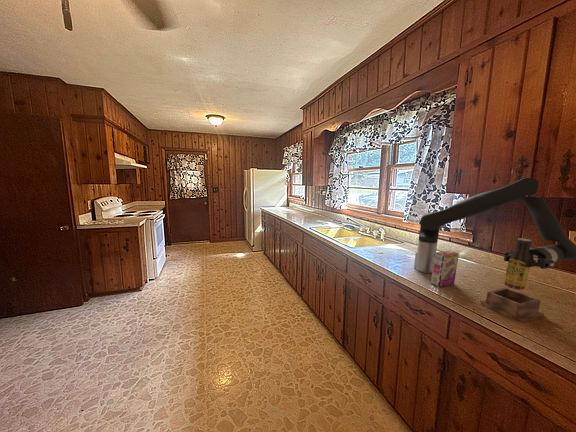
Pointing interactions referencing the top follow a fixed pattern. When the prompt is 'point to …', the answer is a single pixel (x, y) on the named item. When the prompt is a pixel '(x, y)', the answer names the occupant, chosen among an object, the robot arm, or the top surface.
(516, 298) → the walnut caddy
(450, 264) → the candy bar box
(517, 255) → the sauce bottle
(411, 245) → the top surface
